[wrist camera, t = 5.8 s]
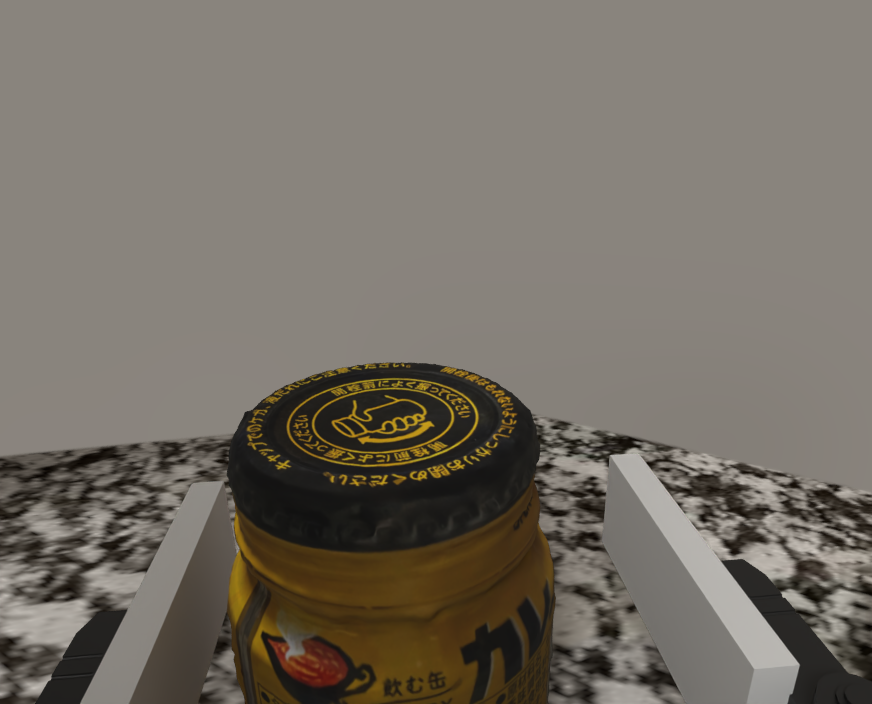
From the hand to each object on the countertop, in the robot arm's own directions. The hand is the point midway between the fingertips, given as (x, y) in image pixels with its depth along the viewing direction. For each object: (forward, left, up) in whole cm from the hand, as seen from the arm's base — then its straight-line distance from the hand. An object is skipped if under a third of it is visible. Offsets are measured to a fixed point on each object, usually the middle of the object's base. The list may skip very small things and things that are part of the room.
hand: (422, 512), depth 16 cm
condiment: (+3, -3, -7) cm, 8 cm away
